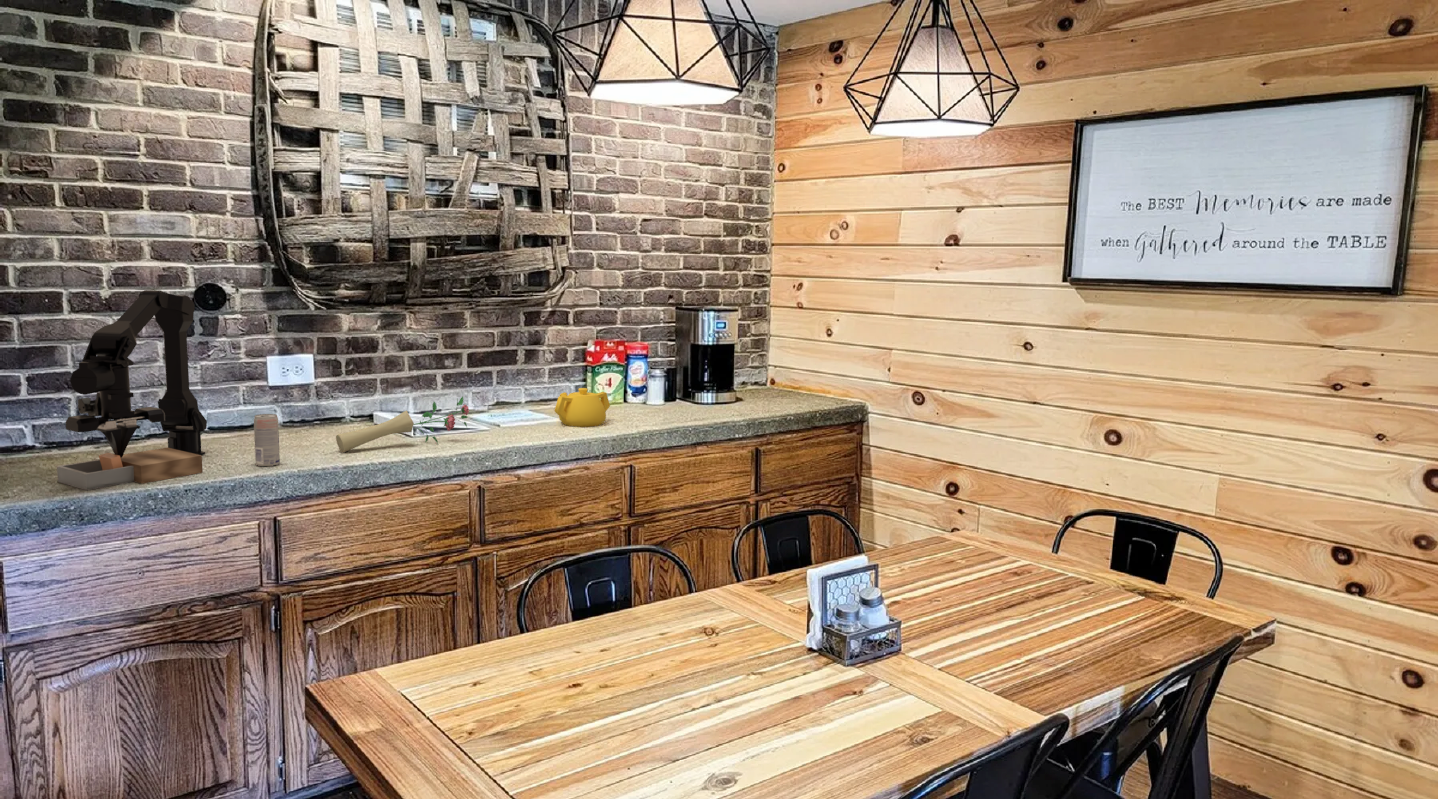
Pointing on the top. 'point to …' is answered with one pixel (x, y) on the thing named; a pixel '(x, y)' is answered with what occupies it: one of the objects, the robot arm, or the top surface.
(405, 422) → the flower vase
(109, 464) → the terracotta tile
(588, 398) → the teapot
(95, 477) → the box
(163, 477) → the walnut board
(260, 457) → the energy drink
